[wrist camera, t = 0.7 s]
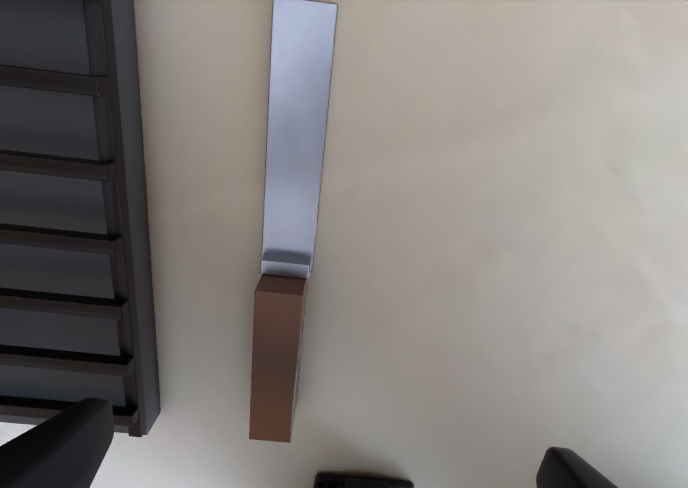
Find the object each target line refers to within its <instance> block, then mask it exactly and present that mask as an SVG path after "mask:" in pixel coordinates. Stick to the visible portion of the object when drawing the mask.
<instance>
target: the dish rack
mask: <svg viewBox="0 0 688 488" xmlns="http://www.w3.org/2000/svg"><path fill="white" fill-rule="evenodd" d="M88 397H96V398H106V399H109V400H110V401H111V403H112V411H113V422H114V432H120V433H128V434H129V436H133V437H142V435H147V434H148V432H149V431H150V429H151V427H152V425H153V424H154V422H155V420H156V418H157V417H158V415H159V413H160V396H159V381H158V366H157V351H156V335H155V320H154V305H153V290H152V275H151V260H150V245H149V230H148V215H147V199H146V184H145V169H144V154H143V139H142V124H141V109H140V94H139V79H138V64H137V48H136V33H135V18H134V3H133V0H0V422H8V423H19V424H30V425H39V424H41V423H43V422H44V421H46V420H48V419H50V418H52V417H53V416H55V415H57V414H59V413H60V412H62V411H64V410H66V409H67V408H69V407H71V406H73V405H75V404H76V403H78V402H80V401H82V400H83V399H86V398H88Z"/></svg>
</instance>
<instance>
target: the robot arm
mask: <svg viewBox="0 0 688 488" xmlns="http://www.w3.org/2000/svg"><path fill="white" fill-rule="evenodd" d="M113 435H114V422H113V411H112V403H111V401H110V400H109V399H106V398H96V397H88V398H86V399H83V400H82V401H80V402H78V403H76V404H75V405H73V406H71V407H69V408H67V409H66V410H64V411H62V412H60V413H59V414H57V415H55V416H53V417H52V418H50V419H48V420H46V421H44V422H43V423H41V424H39V425H37V426H36V427H34V428H32V429H30V430H28V431H27V432H25V433H23V434H21V435H20V436H18V437H16V438H14V439H13V440H11V441H9V442H7V443H5V444H4V445H2V446H0V488H89V487H90V485H91V483H92V481H93V479H94V477H95V475H96V473H97V471H98V469H99V467H100V465H101V463H102V461H103V459H104V457H105V455H106V453H107V450H108V448H109V446H110V444H111V442H112V439H113ZM536 483H537V488H618V487H616V486H615V485H614V484H613V483H612V482H610V481H609V480H608V479H607V478H605V477H604V476H603V475H602V474H601V473H599V472H598V471H597V470H596V469H594V468H593V467H592V466H591V465H590V464H588V463H587V462H586V461H585V460H583V459H582V458H581V457H580V456H579V455H577V454H576V453H575V452H574V451H572V450H570V449H568V448H560V447H550V448H548V449H547V451H546V453H545V456H544V458H543V460H542V463H541V465H540V468H539V470H538V473H537V478H536ZM314 488H414V485H413V483H412V482H410V481H403V480H392V479H380V478H369V477H357V476H346V475H334V474H318V475H317V476H316V477H315V481H314Z"/></svg>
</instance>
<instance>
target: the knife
mask: <svg viewBox="0 0 688 488" xmlns="http://www.w3.org/2000/svg"><path fill="white" fill-rule="evenodd" d="M337 9H338V5H337V4H334V3H326V2H318V1H311V0H273V13H272V36H271V58H270V81H269V103H268V126H267V149H266V171H265V194H264V216H263V239H262V258H261V260H260V274H262V276H261V278H260V281H259V283H258V285H257V287H256V289H255V300H254V326H253V352H252V377H251V403H250V429H249V439H254V440H265V441H276V442H287V443H290V441H291V434H292V428H293V421H294V415H295V409H296V401H297V390H298V379H299V368H300V357H301V346H302V336H303V325H304V314H305V303H306V292H307V281H308V278H309V274H310V272H312V269H313V259H314V248H315V238H316V228H317V217H318V207H319V196H320V186H321V175H322V165H323V155H324V144H325V134H326V123H327V113H328V102H329V92H330V82H331V71H332V61H333V50H334V40H335V29H336V19H337Z"/></svg>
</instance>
